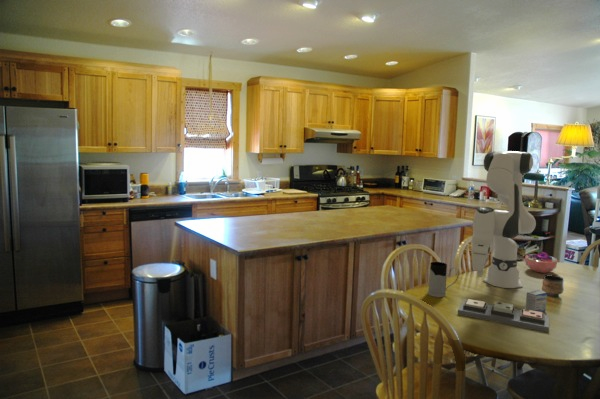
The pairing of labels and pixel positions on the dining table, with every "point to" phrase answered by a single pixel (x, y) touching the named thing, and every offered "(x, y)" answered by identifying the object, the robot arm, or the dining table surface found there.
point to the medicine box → (536, 301)
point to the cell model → (541, 262)
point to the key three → (532, 314)
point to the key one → (475, 303)
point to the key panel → (505, 316)
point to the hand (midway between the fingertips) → (480, 276)
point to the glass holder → (438, 279)
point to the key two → (503, 307)
